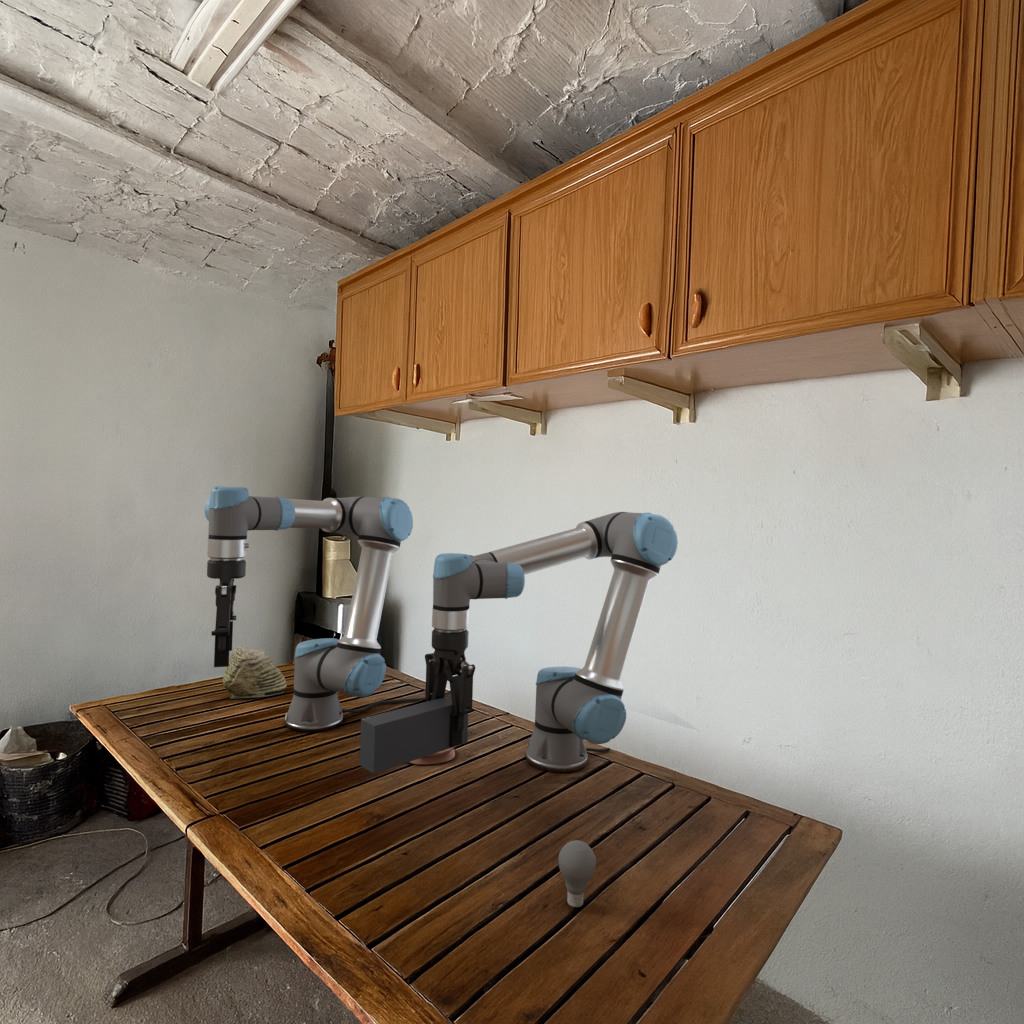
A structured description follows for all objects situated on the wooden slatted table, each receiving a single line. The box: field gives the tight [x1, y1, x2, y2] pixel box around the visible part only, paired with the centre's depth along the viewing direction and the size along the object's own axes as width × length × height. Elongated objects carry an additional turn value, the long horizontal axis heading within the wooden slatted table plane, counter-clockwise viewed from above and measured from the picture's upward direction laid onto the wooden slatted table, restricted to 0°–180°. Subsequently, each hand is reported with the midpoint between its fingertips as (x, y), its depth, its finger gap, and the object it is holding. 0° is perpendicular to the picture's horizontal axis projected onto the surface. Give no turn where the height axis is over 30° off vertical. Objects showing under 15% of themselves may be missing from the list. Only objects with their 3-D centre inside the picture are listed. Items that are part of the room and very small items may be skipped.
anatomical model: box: [408, 746, 456, 766], centre depth 157 cm, size 13×4×12 cm
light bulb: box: [557, 839, 597, 908], centre depth 101 cm, size 6×6×10 cm
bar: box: [359, 695, 469, 774], centre depth 125 cm, size 23×5×9 cm, turn 135°
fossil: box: [222, 646, 288, 699], centre depth 198 cm, size 9×18×15 cm, turn 132°
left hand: (223, 658), depth 135 cm, fingers open, 13 cm apart
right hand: (446, 741), depth 131 cm, fingers closed on bar, 5 cm apart
